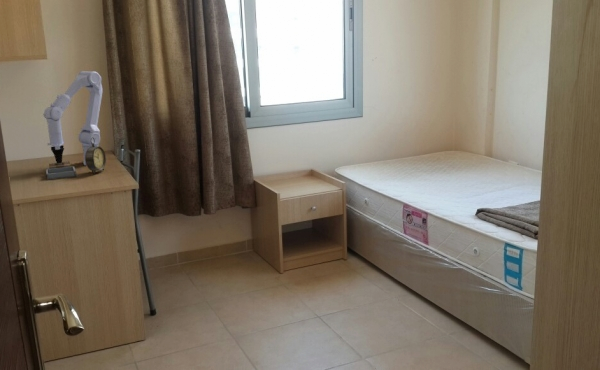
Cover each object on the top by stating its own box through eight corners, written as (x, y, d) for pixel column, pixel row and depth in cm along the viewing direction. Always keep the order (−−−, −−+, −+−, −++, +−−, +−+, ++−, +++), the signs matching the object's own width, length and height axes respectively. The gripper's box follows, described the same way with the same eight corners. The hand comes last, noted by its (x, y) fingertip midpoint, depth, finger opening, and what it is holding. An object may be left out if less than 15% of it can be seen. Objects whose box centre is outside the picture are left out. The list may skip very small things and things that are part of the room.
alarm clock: (95, 175, 281) (91, 139, 277) (84, 175, 282) (80, 139, 278) (107, 169, 291) (103, 135, 287) (97, 169, 292) (93, 135, 288)
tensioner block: (49, 169, 295) (48, 163, 295) (70, 167, 299) (69, 161, 298) (50, 173, 287) (49, 167, 287) (71, 171, 291) (70, 164, 290)
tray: (46, 174, 285) (46, 169, 285) (74, 171, 290) (74, 166, 289) (47, 179, 276) (46, 174, 275) (76, 176, 280) (75, 171, 279)
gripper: (45, 131, 294) (49, 160, 297) (46, 136, 281) (50, 166, 284) (61, 130, 296) (65, 158, 300) (63, 135, 283) (67, 164, 287)
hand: (59, 162), depth 292 cm, fingers open, 3 cm apart
